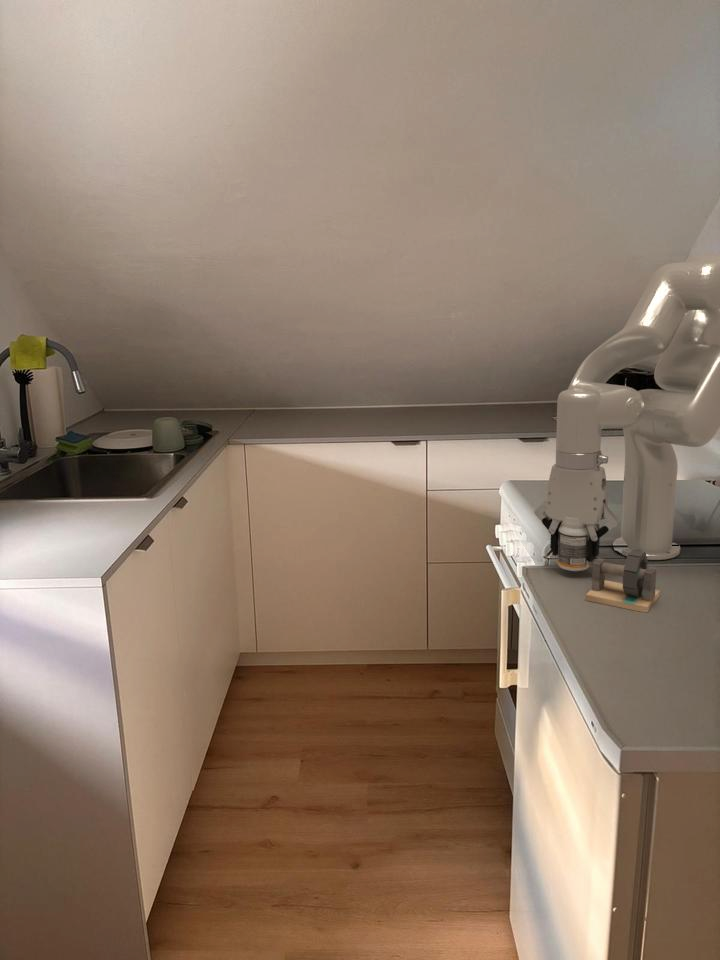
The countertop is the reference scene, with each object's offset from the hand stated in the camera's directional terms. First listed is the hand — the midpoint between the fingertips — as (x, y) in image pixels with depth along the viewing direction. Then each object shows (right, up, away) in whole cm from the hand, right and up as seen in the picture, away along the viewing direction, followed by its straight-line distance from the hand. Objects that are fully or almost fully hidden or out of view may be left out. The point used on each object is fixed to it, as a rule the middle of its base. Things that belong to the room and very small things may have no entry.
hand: (574, 555), depth 140 cm
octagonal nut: (+7, -5, -12) cm, 15 cm away
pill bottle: (0, -2, 0) cm, 2 cm away
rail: (+5, -6, -11) cm, 14 cm away
